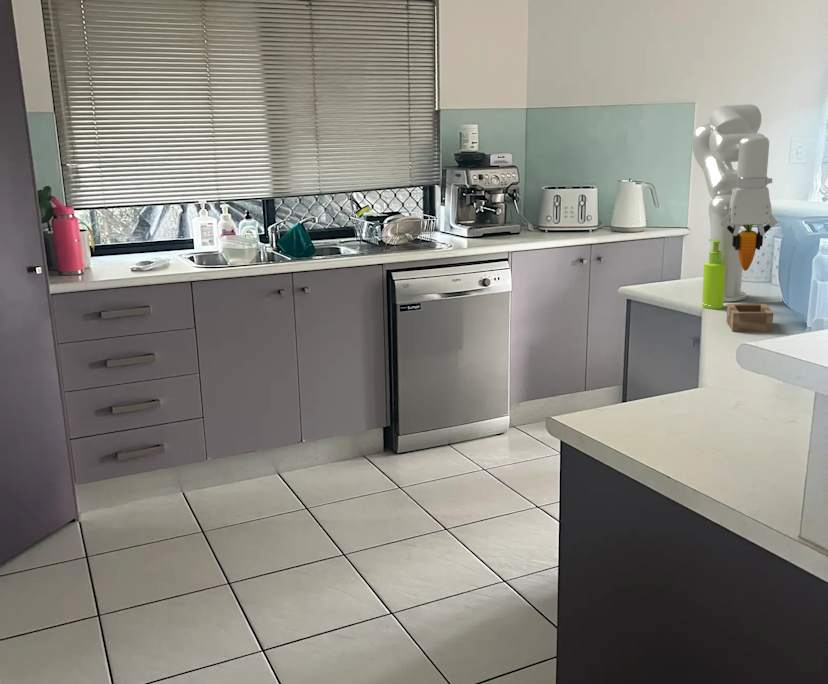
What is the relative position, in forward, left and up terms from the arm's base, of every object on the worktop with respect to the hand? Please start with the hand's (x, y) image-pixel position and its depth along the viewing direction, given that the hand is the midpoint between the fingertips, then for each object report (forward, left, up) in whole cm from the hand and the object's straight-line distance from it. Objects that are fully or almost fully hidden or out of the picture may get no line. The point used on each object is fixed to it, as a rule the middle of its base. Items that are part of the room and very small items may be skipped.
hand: (746, 248), depth 233 cm
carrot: (0, 0, -7) cm, 7 cm away
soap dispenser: (-10, -7, -20) cm, 23 cm away
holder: (+12, 0, -19) cm, 23 cm away
